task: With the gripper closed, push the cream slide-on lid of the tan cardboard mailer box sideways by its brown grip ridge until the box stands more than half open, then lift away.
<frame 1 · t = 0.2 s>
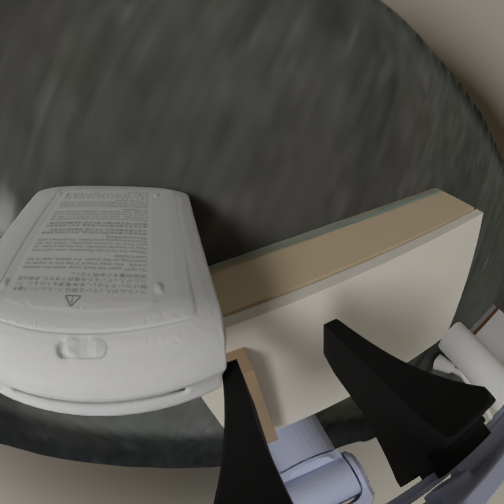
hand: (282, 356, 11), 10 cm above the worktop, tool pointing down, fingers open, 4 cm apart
fire extinguisher: (447, 337, 45), on the worktop
mailer box: (330, 300, 26), on the worktop
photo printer: (110, 213, 16), on the worktop, touching gripper
display case: (474, 330, 52), on the worktop
slide lid: (371, 349, 21), point 7 cm above the worktop, slide at 0.0 cm
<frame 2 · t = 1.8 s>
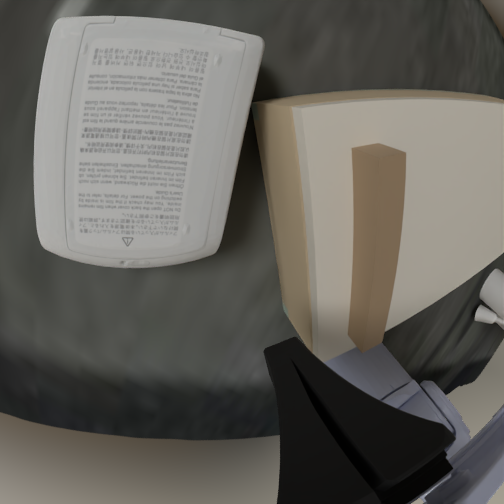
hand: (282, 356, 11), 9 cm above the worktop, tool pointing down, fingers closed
fire extinguisher: (486, 285, 40), on the worktop
mailer box: (411, 182, 22), on the worktop
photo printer: (158, 19, 9), point 2 cm above the worktop
slide lid: (471, 214, 16), point 7 cm above the worktop, slide at 0.0 cm
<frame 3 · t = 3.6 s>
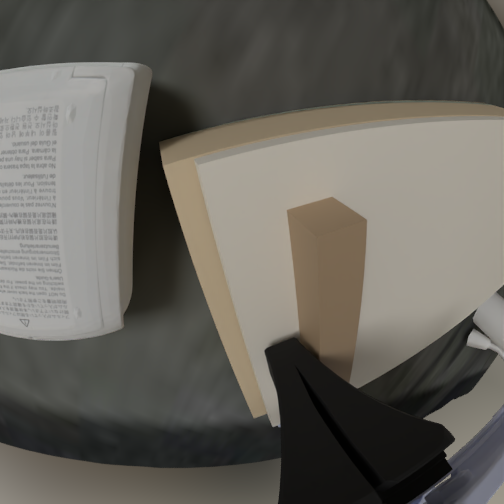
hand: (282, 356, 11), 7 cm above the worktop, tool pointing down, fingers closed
fire extinguisher: (481, 309, 37), on the worktop
mailer box: (388, 217, 19), on the worktop
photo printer: (28, 62, 6), point 2 cm above the worktop
slide lid: (466, 261, 14), point 7 cm above the worktop, slide at 0.9 cm, touching gripper
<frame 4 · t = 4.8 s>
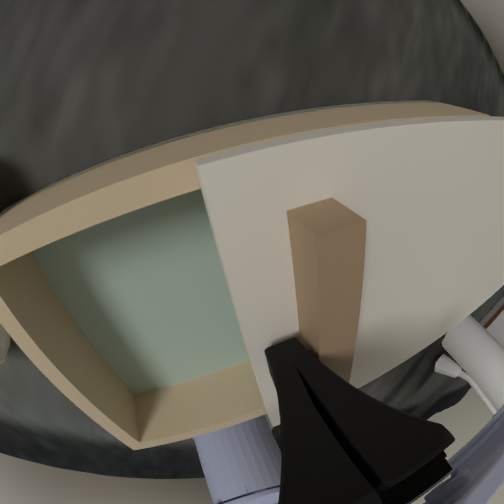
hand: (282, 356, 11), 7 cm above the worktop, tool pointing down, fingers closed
fire extinguisher: (452, 332, 36), on the worktop
mailer box: (273, 257, 17), on the worktop
display case: (482, 327, 44), on the worktop
slide lid: (466, 262, 14), point 7 cm above the worktop, slide at 9.5 cm, touching gripper
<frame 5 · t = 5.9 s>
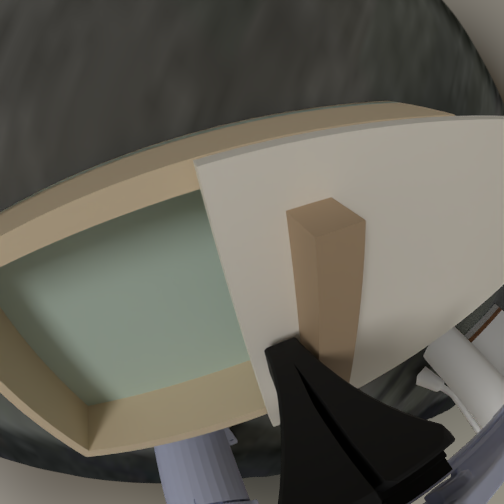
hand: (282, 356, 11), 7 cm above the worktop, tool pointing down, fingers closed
fire extinguisher: (435, 344, 35), on the worktop
mailer box: (203, 281, 16), on the worktop
display case: (472, 336, 43), on the worktop
slide lid: (466, 261, 14), point 7 cm above the worktop, slide at 13.8 cm, touching gripper
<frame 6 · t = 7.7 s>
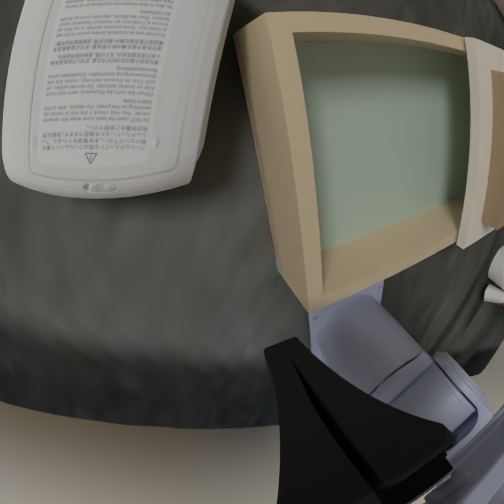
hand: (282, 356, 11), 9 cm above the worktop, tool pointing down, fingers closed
fire extinguisher: (494, 264, 38), on the worktop
mailer box: (411, 132, 19), on the worktop
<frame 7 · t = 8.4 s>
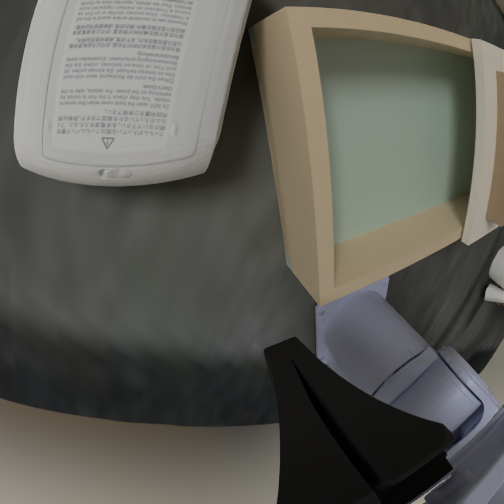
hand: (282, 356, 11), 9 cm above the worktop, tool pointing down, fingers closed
fire extinguisher: (495, 263, 38), on the worktop
mailer box: (417, 130, 19), on the worktop
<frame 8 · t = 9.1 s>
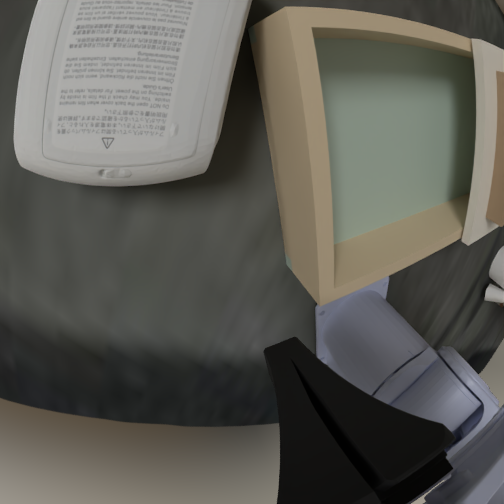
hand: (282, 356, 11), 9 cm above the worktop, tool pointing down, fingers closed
fire extinguisher: (495, 263, 38), on the worktop
mailer box: (417, 130, 19), on the worktop
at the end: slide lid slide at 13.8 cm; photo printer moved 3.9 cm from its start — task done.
